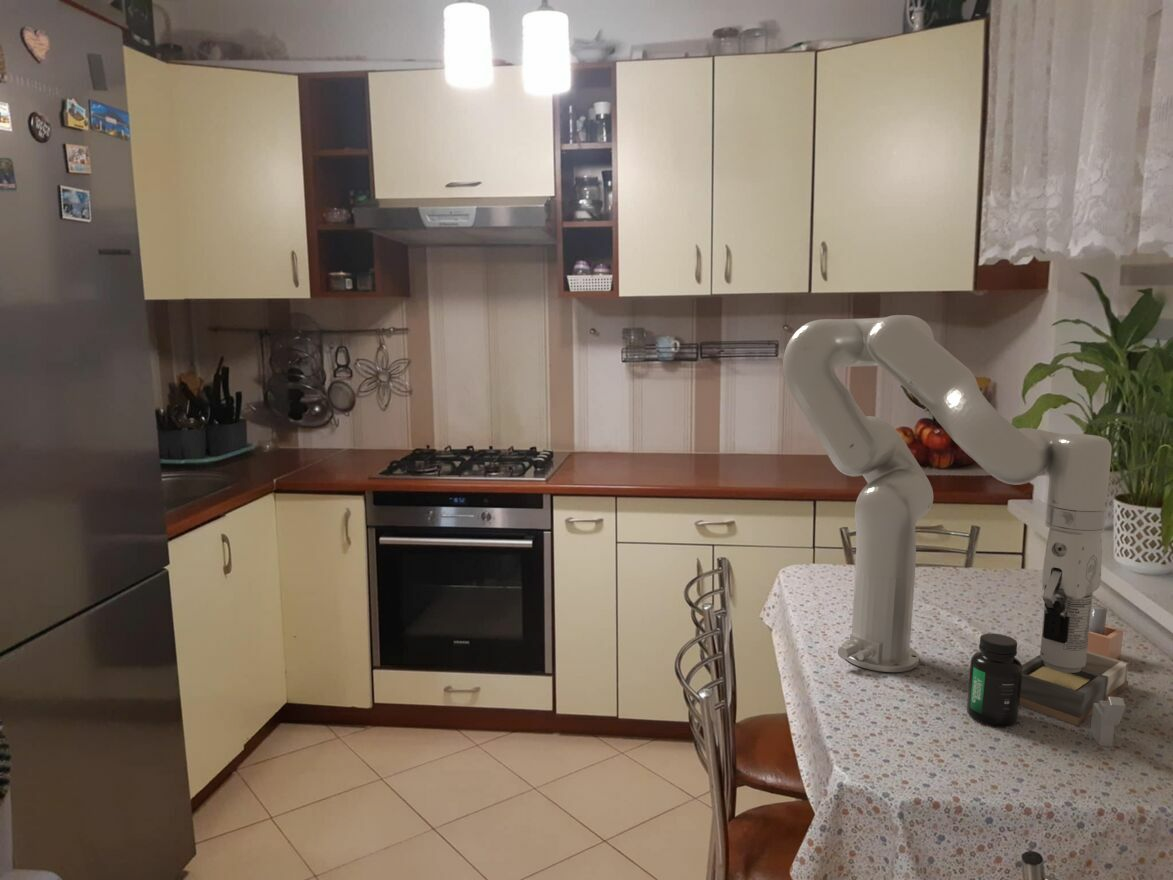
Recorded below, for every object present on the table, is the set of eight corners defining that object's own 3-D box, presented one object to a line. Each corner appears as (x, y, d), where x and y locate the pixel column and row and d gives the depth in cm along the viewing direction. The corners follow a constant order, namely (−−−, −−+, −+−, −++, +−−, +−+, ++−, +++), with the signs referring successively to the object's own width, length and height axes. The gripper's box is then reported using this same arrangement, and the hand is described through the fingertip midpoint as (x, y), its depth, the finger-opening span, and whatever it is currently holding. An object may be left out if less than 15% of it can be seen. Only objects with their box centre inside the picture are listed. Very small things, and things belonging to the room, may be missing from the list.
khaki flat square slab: (1072, 700, 123) (1073, 691, 123) (1025, 685, 128) (1026, 676, 128) (1090, 688, 127) (1090, 679, 127) (1044, 673, 132) (1045, 665, 132)
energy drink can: (1062, 656, 130) (1070, 563, 128) (1094, 672, 125) (1104, 574, 122) (1030, 660, 129) (1038, 566, 127) (1061, 676, 123) (1071, 578, 121)
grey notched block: (1089, 730, 119) (1095, 677, 118) (1103, 732, 119) (1109, 679, 117) (1105, 756, 112) (1111, 700, 111) (1119, 758, 112) (1126, 701, 111)
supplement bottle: (973, 725, 120) (980, 646, 118) (960, 704, 127) (967, 628, 125) (1024, 730, 119) (1032, 650, 117) (1009, 708, 126) (1016, 632, 124)
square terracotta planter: (1107, 666, 141) (1112, 618, 139) (1068, 655, 145) (1073, 608, 144) (1120, 657, 145) (1125, 610, 143) (1082, 646, 149) (1087, 600, 148)
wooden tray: (1077, 725, 121) (1080, 696, 120) (1006, 700, 128) (1009, 672, 128) (1127, 687, 133) (1130, 660, 132) (1060, 666, 141) (1063, 640, 140)
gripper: (1079, 533, 115) (1067, 657, 118) (1125, 514, 126) (1113, 628, 129) (1022, 522, 121) (1013, 641, 124) (1071, 505, 132) (1061, 615, 134)
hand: (1064, 633), depth 126 cm, fingers closed on energy drink can, 6 cm apart
